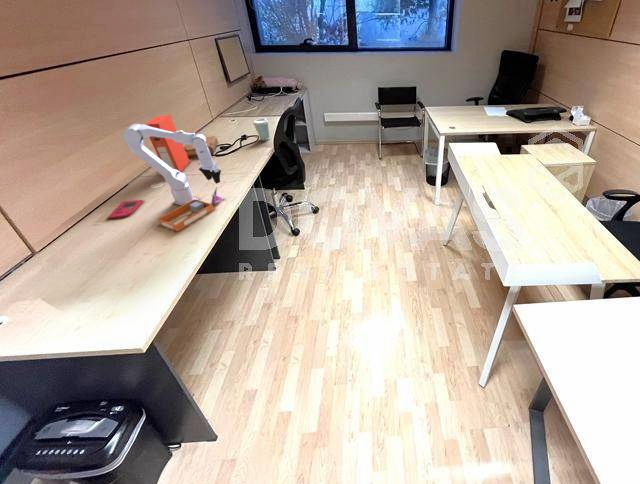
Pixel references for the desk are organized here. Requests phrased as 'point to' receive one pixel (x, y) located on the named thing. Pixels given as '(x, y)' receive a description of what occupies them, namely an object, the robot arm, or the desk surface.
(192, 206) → the small cube
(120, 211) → the handheld gaming console
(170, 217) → the wooden tray
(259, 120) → the disposable coffee cup
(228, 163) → the desk surface
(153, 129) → the robot arm
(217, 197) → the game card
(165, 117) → the file binder
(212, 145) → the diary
